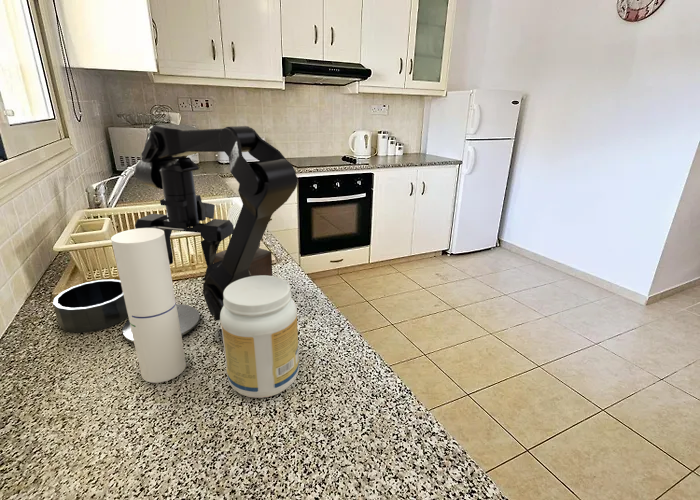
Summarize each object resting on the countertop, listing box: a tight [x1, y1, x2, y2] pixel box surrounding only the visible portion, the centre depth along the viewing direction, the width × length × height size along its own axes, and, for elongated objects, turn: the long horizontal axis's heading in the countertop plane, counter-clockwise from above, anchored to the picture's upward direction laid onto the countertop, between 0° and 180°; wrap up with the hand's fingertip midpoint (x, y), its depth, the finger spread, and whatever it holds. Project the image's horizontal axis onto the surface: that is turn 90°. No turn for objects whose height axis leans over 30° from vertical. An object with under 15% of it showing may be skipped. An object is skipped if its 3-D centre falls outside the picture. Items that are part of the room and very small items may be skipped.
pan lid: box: [121, 303, 201, 343], centre depth 77 cm, size 15×15×9 cm
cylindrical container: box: [110, 228, 187, 384], centre depth 61 cm, size 7×7×25 cm
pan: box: [52, 278, 129, 334], centre depth 81 cm, size 14×14×5 cm
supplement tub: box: [219, 275, 300, 399], centre depth 62 cm, size 12×12×17 cm
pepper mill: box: [214, 238, 273, 276], centre depth 91 cm, size 16×11×18 cm
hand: (190, 265), depth 78 cm, fingers open, 9 cm apart
